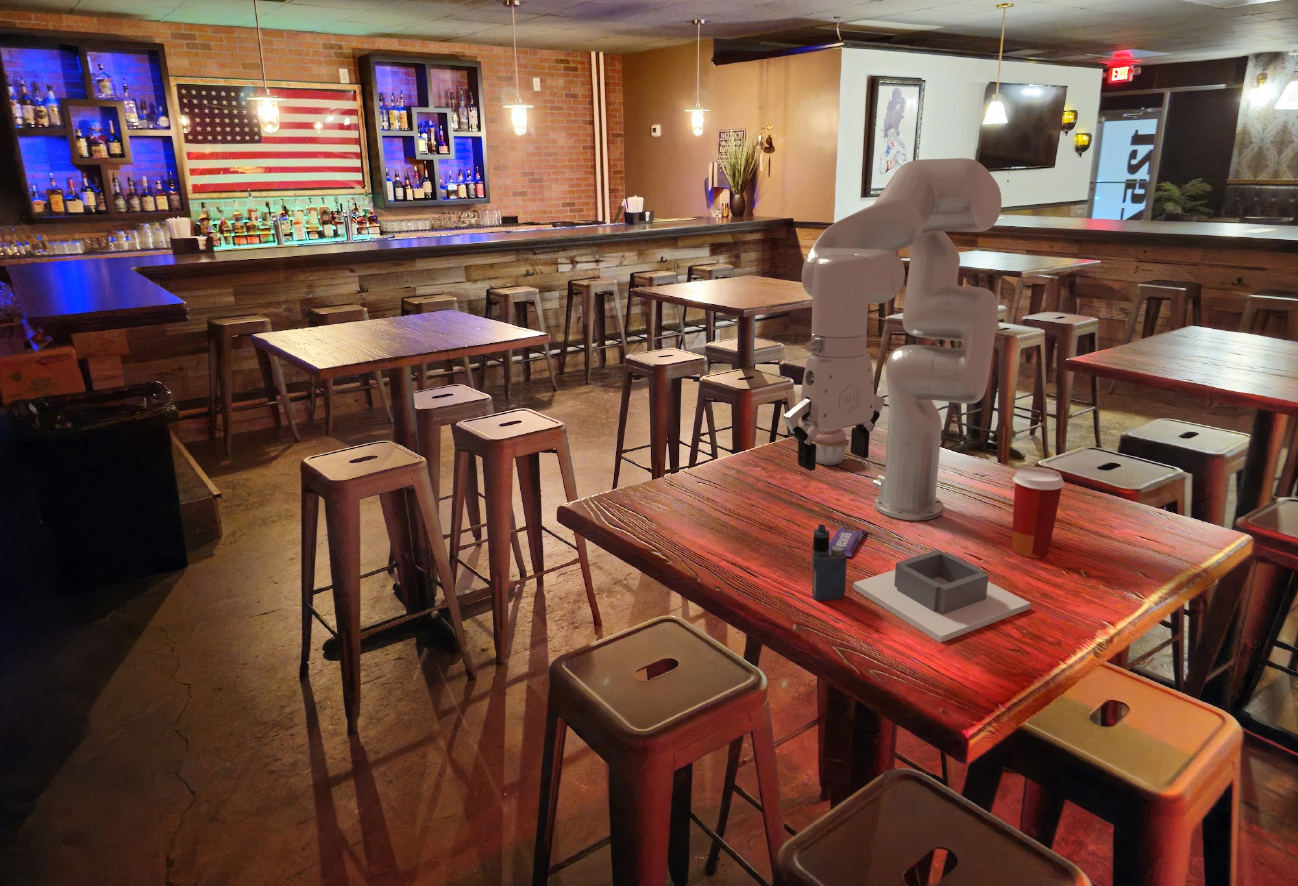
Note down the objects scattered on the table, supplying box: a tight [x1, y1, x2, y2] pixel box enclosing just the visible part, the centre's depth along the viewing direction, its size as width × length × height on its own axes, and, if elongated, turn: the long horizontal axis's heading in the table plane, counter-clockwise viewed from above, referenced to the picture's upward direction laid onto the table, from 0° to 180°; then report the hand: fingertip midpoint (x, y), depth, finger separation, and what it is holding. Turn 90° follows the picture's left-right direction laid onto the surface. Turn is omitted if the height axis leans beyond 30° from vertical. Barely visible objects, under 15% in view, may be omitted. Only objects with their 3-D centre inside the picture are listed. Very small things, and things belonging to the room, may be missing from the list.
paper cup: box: [1011, 466, 1066, 559], centre depth 137 cm, size 8×8×14 cm
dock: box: [852, 549, 1031, 644], centre depth 125 cm, size 18×18×5 cm
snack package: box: [829, 526, 868, 558], centre depth 145 cm, size 12×2×5 cm
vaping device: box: [811, 524, 848, 602], centre depth 125 cm, size 3×5×12 cm, turn 95°
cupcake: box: [812, 428, 851, 466], centre depth 183 cm, size 9×9×10 cm
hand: (833, 461), depth 120 cm, fingers open, 9 cm apart
